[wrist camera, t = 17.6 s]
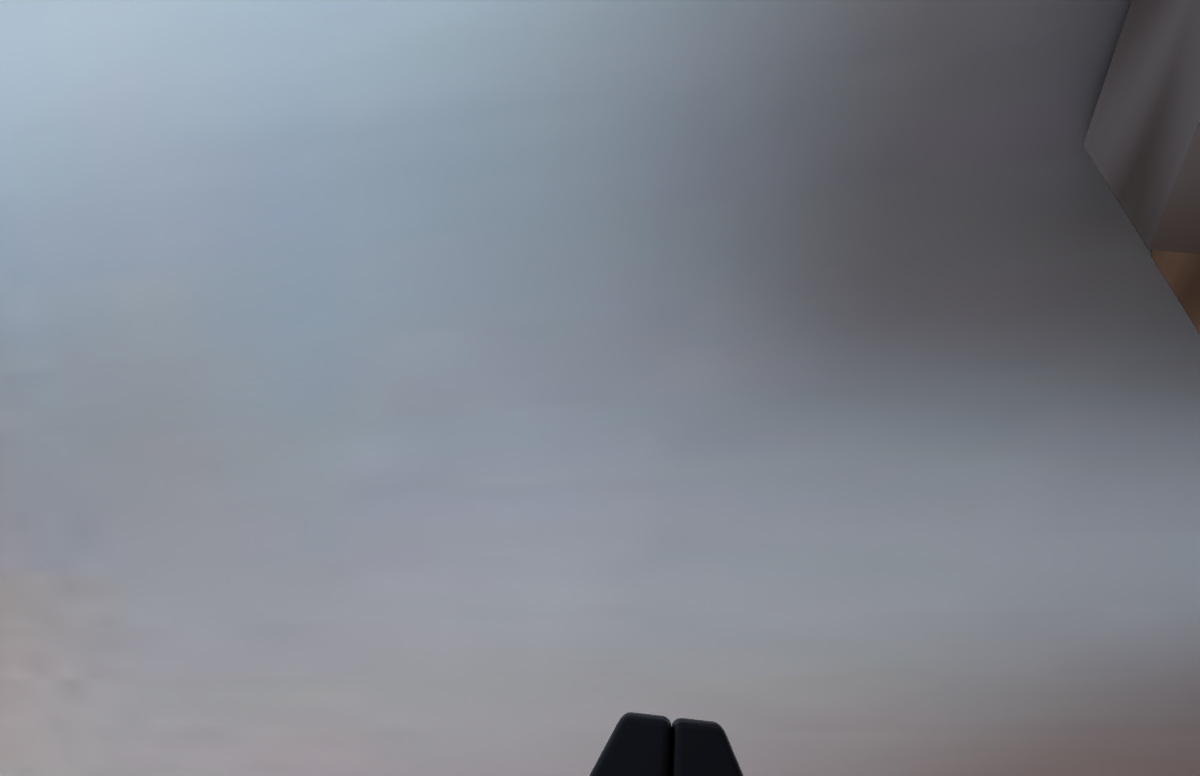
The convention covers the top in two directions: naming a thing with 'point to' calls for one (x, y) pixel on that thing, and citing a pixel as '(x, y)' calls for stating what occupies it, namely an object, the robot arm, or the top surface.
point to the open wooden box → (1182, 279)
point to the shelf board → (1153, 123)
